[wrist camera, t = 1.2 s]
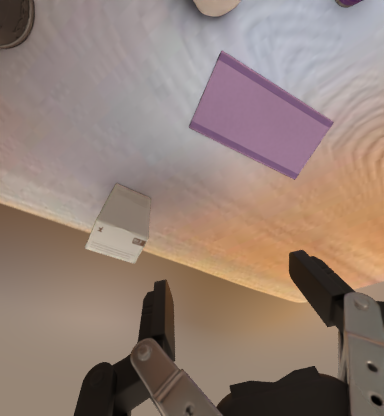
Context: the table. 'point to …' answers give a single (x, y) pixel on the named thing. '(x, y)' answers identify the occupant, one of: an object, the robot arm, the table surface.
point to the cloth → (258, 118)
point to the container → (347, 2)
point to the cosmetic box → (121, 225)
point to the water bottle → (216, 6)
